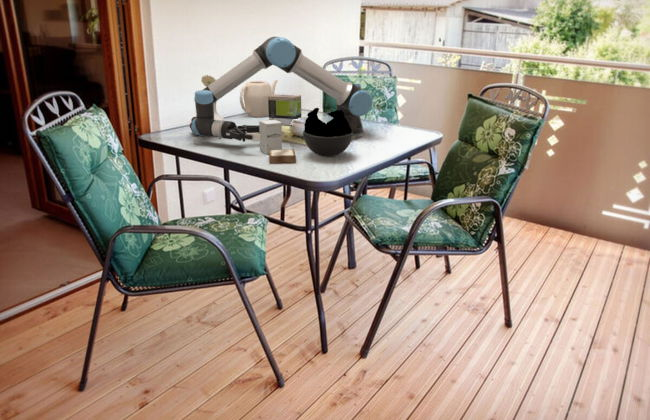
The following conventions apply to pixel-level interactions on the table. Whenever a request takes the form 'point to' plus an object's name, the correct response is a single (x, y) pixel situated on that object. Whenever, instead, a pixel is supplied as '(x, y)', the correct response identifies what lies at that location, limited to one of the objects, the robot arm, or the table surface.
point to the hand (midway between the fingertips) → (268, 134)
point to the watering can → (256, 97)
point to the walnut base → (282, 156)
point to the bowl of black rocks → (327, 133)
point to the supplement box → (270, 135)
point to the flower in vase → (207, 81)
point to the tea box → (284, 108)
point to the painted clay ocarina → (191, 124)
